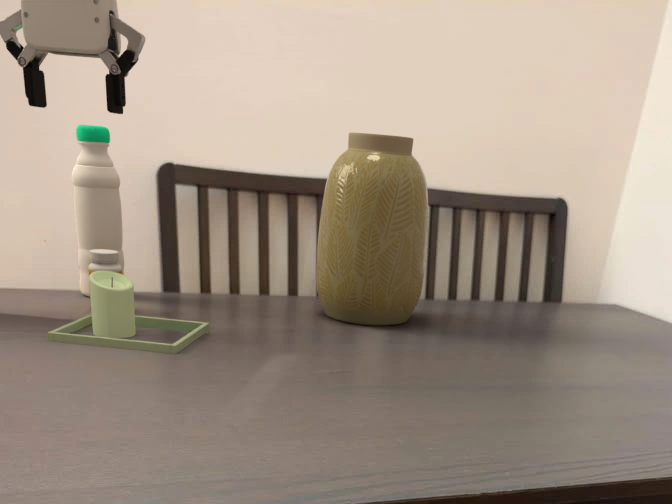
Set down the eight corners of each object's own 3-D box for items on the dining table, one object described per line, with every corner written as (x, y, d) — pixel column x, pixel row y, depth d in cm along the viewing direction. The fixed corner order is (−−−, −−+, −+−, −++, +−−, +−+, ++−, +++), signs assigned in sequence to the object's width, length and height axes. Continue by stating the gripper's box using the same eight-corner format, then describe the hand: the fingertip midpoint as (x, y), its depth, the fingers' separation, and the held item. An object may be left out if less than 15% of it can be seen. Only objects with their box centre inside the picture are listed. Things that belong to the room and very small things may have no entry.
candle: (143, 343, 90) (141, 276, 87) (106, 348, 87) (102, 278, 84) (122, 335, 94) (119, 269, 90) (85, 339, 90) (80, 271, 87)
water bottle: (81, 290, 121) (68, 123, 111) (125, 291, 123) (117, 127, 113) (79, 298, 115) (66, 122, 105) (126, 299, 117) (117, 127, 107)
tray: (49, 353, 85) (46, 332, 84) (97, 330, 97) (96, 311, 96) (176, 367, 84) (175, 345, 83) (209, 341, 96) (209, 322, 95)
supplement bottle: (90, 305, 111) (86, 248, 107) (123, 305, 112) (119, 249, 109) (91, 312, 107) (87, 252, 103) (125, 312, 108) (122, 253, 105)
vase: (294, 316, 115) (301, 127, 104) (343, 302, 129) (354, 135, 118) (393, 334, 109) (412, 135, 98) (434, 317, 123) (454, 142, 112)
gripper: (152, -48, 84) (157, 117, 91) (7, -58, 85) (23, 106, 92) (126, -67, 77) (134, 113, 84) (-31, -78, 78) (-10, 101, 85)
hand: (76, 110), depth 88 cm, fingers open, 9 cm apart
